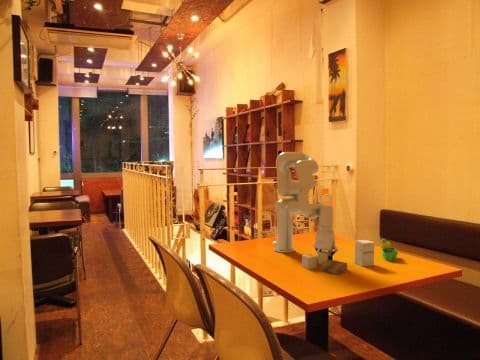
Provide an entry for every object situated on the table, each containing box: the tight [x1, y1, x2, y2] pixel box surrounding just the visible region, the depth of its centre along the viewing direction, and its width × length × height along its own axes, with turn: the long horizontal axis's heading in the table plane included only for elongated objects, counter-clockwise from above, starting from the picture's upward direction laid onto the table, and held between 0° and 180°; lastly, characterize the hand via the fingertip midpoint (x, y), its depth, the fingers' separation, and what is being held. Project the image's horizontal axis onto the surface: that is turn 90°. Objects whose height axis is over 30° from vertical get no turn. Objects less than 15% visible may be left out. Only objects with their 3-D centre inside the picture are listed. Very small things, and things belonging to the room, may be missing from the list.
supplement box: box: [354, 239, 375, 268], centre depth 202 cm, size 7×7×13 cm
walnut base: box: [319, 259, 348, 276], centre depth 192 cm, size 10×10×4 cm
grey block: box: [301, 253, 318, 270], centre depth 197 cm, size 6×6×6 cm
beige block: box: [317, 250, 329, 265], centre depth 204 cm, size 6×6×6 cm
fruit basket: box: [379, 238, 399, 262], centre depth 215 cm, size 11×9×11 cm
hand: (325, 261), depth 204 cm, fingers closed on beige block, 5 cm apart
